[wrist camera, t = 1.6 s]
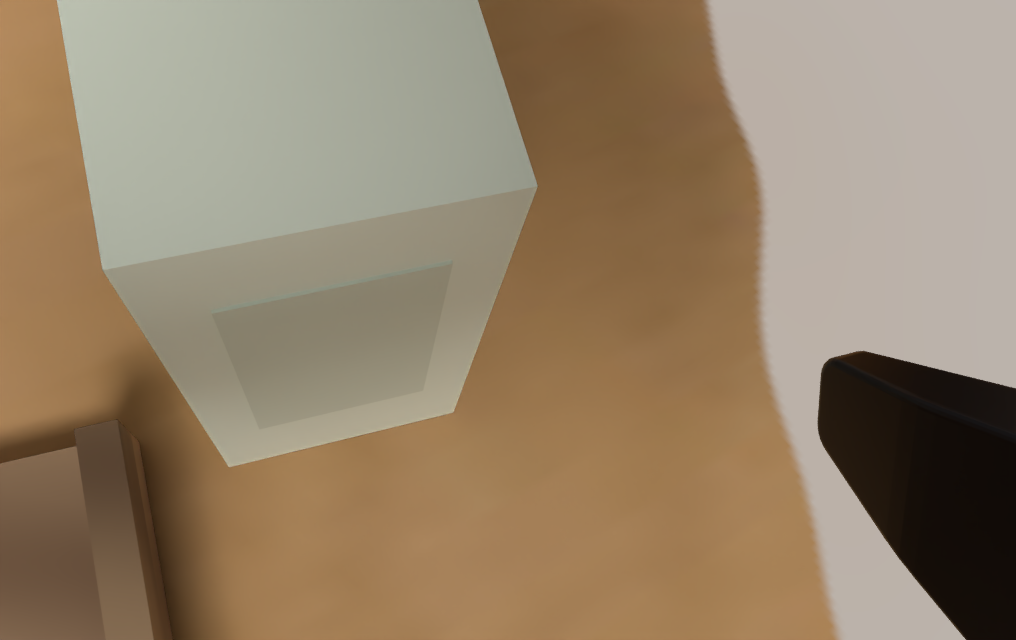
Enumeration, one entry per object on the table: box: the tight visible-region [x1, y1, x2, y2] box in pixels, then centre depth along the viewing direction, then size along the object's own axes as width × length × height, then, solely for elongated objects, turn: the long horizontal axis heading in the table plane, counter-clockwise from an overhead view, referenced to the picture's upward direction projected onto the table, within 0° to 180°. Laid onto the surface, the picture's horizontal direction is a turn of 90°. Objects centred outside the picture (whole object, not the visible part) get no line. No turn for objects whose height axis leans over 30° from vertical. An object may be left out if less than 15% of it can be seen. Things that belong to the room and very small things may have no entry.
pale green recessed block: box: [57, 0, 538, 467], centre depth 17 cm, size 4×5×11 cm
